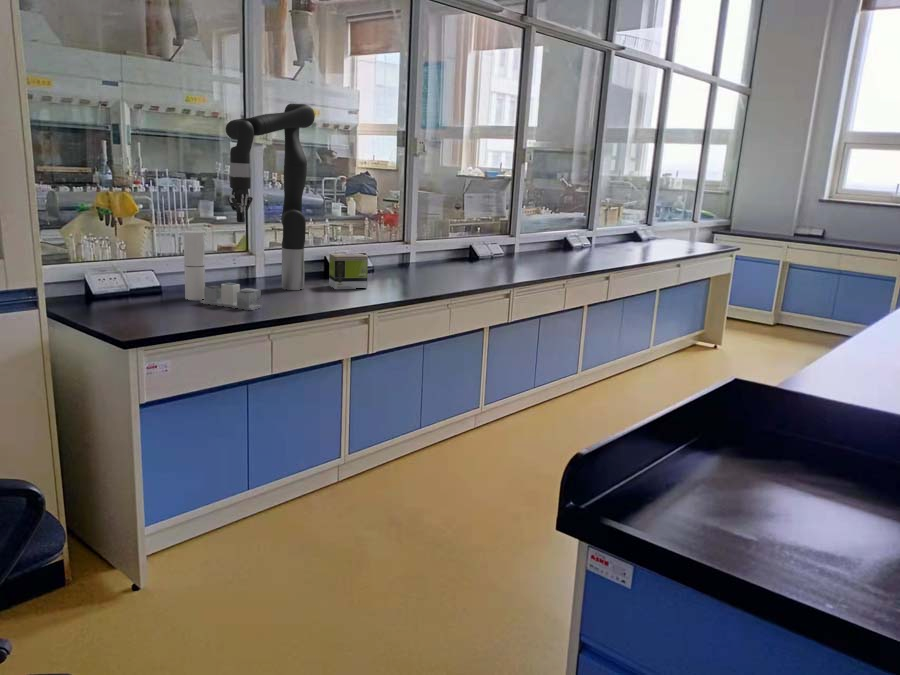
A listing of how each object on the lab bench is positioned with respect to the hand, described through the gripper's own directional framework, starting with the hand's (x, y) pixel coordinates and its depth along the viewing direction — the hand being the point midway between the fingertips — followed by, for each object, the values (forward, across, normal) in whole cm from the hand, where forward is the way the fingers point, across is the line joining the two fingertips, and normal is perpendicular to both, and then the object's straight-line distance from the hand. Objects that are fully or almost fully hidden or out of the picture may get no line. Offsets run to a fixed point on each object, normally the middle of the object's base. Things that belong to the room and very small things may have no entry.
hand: (240, 222), depth 262 cm
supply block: (+29, 0, +4) cm, 30 cm away
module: (+28, +16, +7) cm, 33 cm away
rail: (+29, +16, +7) cm, 34 cm away
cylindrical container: (+29, +13, -11) cm, 34 cm away
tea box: (+29, -46, +23) cm, 59 cm away
